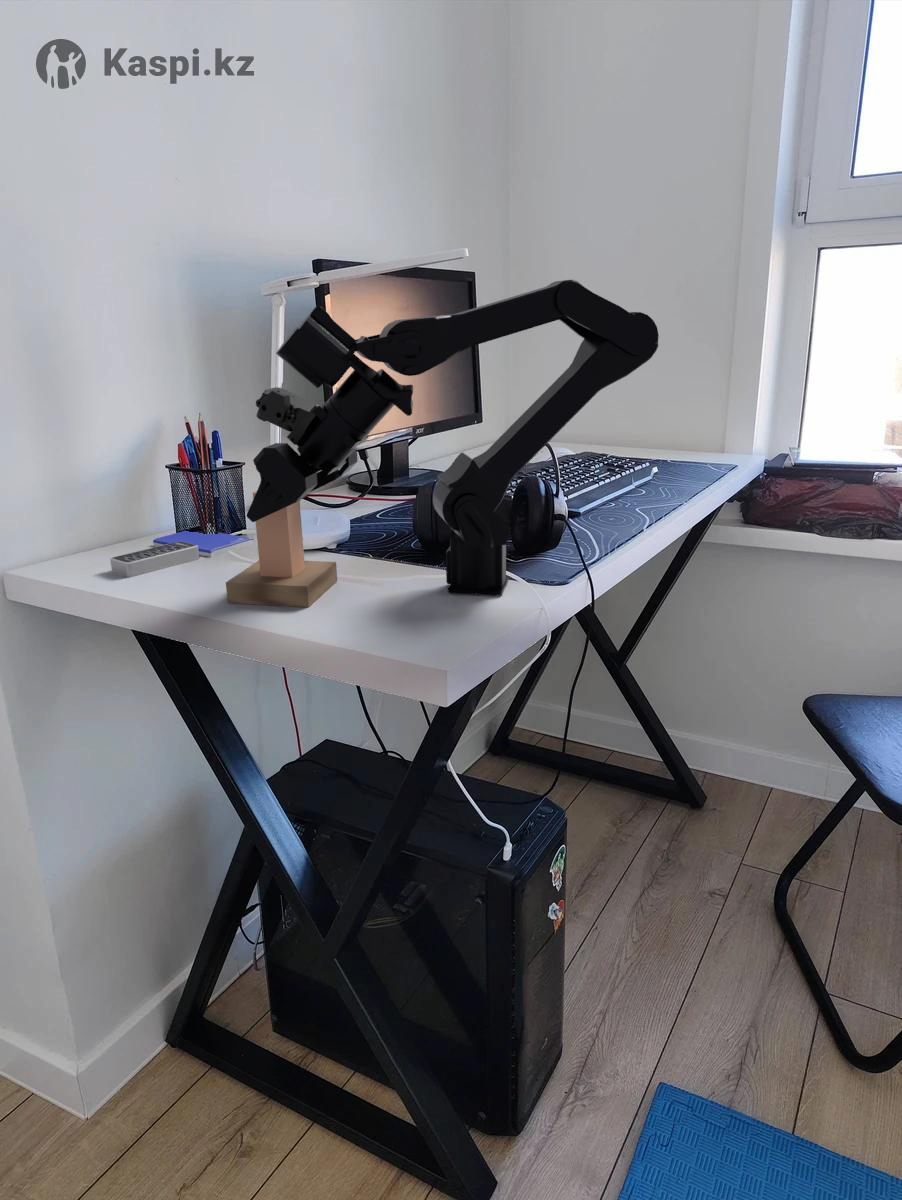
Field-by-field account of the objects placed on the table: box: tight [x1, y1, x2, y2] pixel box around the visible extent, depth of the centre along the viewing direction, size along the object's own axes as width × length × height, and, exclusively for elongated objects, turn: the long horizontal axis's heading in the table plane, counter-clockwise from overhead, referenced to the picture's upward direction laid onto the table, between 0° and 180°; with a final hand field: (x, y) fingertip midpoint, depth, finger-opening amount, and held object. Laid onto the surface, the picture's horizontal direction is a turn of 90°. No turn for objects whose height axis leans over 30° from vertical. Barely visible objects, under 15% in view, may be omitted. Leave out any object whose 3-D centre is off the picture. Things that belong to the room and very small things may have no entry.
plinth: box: [225, 560, 338, 608], centre depth 103 cm, size 10×10×2 cm
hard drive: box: [152, 530, 255, 558], centre depth 125 cm, size 2×8×12 cm
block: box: [252, 490, 305, 577], centre depth 101 cm, size 4×4×10 cm
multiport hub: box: [109, 541, 200, 578], centre depth 115 cm, size 4×11×2 cm, turn 141°
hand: (266, 509), depth 100 cm, fingers open, 9 cm apart
